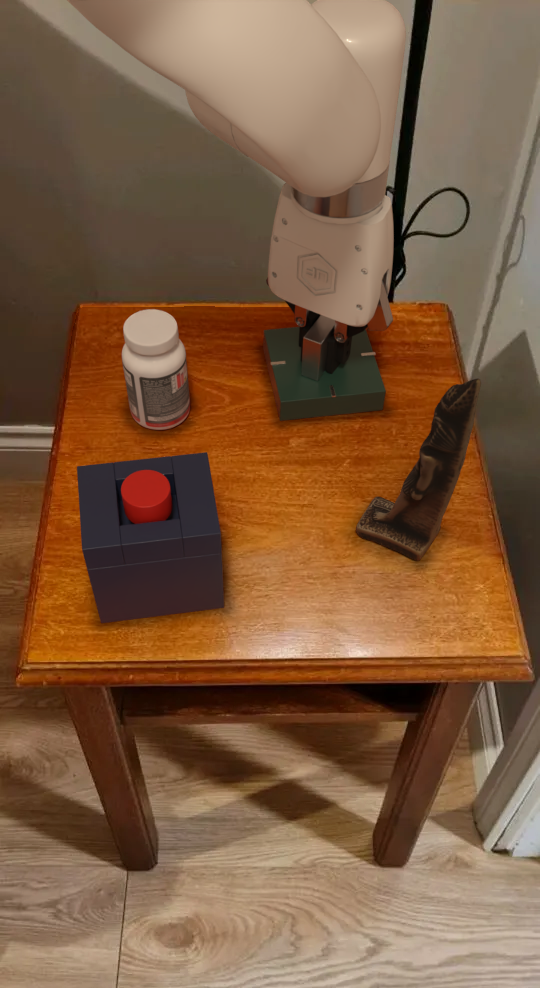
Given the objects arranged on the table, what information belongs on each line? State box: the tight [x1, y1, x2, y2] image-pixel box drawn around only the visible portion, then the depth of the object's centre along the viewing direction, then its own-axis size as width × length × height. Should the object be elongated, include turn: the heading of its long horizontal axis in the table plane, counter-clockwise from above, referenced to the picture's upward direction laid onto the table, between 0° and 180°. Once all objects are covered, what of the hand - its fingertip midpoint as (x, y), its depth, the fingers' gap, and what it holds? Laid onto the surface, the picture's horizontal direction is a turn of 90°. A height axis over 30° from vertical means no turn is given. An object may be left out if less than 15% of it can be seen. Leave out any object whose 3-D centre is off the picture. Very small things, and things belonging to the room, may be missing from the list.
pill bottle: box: [121, 308, 191, 431], centre depth 82 cm, size 6×6×10 cm
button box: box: [76, 451, 225, 624], centre depth 72 cm, size 10×8×10 cm
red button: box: [121, 470, 172, 524], centre depth 67 cm, size 4×4×2 cm
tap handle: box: [301, 315, 335, 381], centre depth 85 cm, size 6×2×5 cm, turn 152°
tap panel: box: [262, 326, 387, 422], centre depth 88 cm, size 10×10×3 cm
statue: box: [355, 378, 482, 562], centre depth 70 cm, size 4×7×20 cm, turn 62°
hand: (323, 358), depth 87 cm, fingers closed
